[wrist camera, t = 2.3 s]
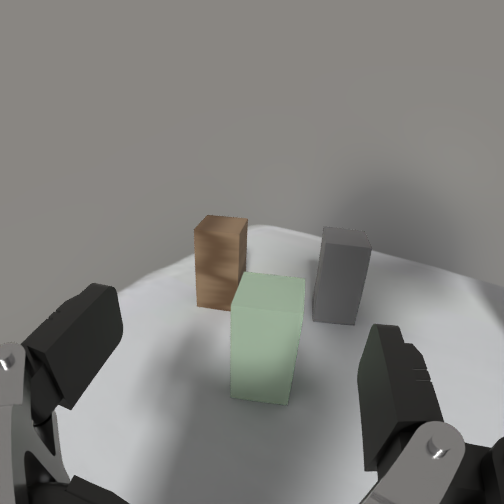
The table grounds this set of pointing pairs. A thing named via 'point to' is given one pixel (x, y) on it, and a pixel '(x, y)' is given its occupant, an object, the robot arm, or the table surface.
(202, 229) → the walnut block
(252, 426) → the table surface
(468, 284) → the table surface
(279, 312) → the sage block
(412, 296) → the table surface
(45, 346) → the robot arm
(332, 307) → the charcoal block
